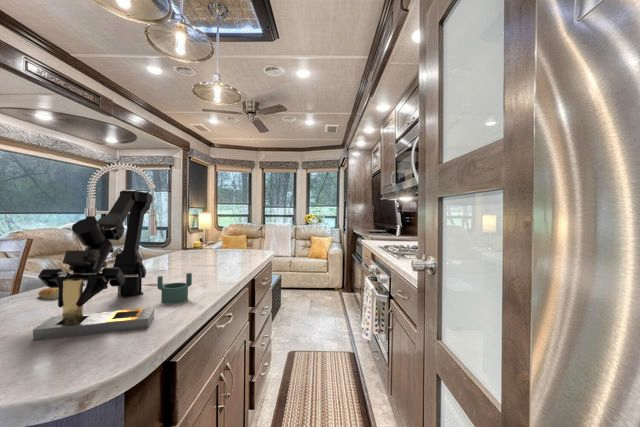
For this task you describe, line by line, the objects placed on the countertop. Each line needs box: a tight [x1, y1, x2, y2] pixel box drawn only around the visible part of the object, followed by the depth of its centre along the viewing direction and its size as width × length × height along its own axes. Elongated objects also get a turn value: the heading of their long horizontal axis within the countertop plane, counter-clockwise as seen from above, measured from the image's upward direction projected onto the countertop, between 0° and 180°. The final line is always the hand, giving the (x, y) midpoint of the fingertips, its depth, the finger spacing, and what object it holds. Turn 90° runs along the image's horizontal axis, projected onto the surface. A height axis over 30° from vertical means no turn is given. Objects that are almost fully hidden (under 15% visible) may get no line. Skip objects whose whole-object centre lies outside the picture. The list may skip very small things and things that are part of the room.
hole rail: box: [32, 307, 155, 341], centre depth 78 cm, size 24×9×3 cm, turn 111°
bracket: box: [157, 272, 193, 305], centre depth 103 cm, size 9×9×9 cm
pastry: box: [38, 287, 59, 300], centre depth 105 cm, size 9×7×4 cm
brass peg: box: [62, 278, 84, 325], centre depth 76 cm, size 4×4×13 cm
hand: (69, 306), depth 75 cm, fingers closed on brass peg, 4 cm apart
